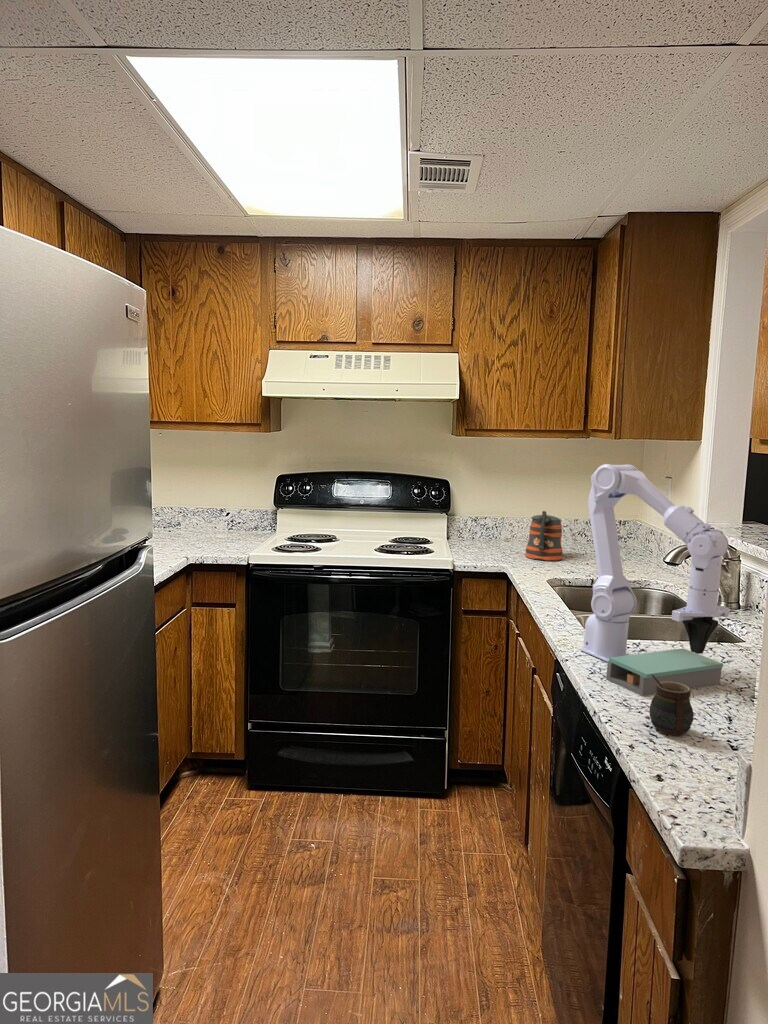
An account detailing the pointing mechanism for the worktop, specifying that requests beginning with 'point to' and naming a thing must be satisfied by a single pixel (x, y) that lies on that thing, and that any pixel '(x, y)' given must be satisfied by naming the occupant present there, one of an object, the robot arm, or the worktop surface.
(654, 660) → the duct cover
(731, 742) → the worktop surface
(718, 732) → the worktop surface
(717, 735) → the worktop surface
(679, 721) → the mate gourd
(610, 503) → the robot arm
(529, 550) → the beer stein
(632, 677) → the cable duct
